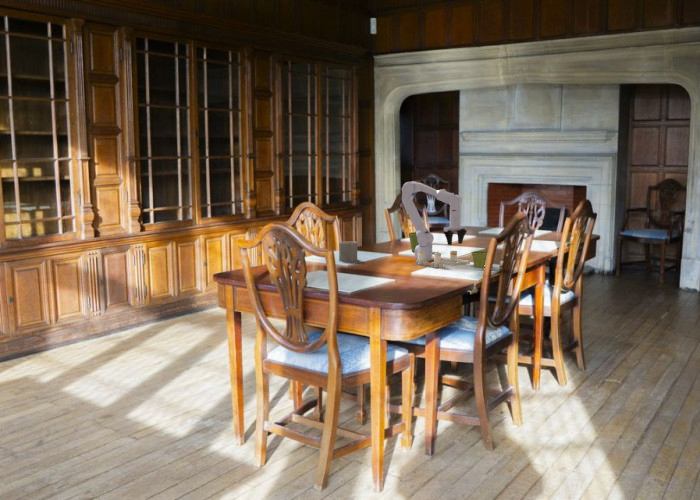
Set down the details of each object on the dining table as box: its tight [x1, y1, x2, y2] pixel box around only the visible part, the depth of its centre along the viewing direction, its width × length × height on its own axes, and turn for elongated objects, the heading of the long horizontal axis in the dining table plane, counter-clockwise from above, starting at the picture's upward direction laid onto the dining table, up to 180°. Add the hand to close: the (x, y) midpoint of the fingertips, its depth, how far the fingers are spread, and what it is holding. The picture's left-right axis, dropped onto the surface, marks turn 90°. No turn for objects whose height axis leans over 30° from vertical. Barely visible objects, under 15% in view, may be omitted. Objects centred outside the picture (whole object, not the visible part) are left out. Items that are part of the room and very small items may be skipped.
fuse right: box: [433, 252, 442, 269], centre depth 358 cm, size 3×3×7 cm
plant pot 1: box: [407, 231, 419, 253], centre depth 424 cm, size 12×12×11 cm
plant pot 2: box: [470, 250, 488, 268], centre depth 359 cm, size 9×9×9 cm
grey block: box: [338, 240, 358, 263], centre depth 395 cm, size 13×10×10 cm
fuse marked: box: [449, 250, 458, 263], centre depth 371 cm, size 4×4×7 cm
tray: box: [441, 258, 471, 266], centre depth 372 cm, size 12×12×3 cm
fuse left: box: [417, 250, 425, 266], centre depth 367 cm, size 3×3×7 cm
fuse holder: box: [411, 259, 448, 270], centre depth 363 cm, size 19×7×4 cm, turn 36°
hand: (455, 244), depth 376 cm, fingers open, 7 cm apart
